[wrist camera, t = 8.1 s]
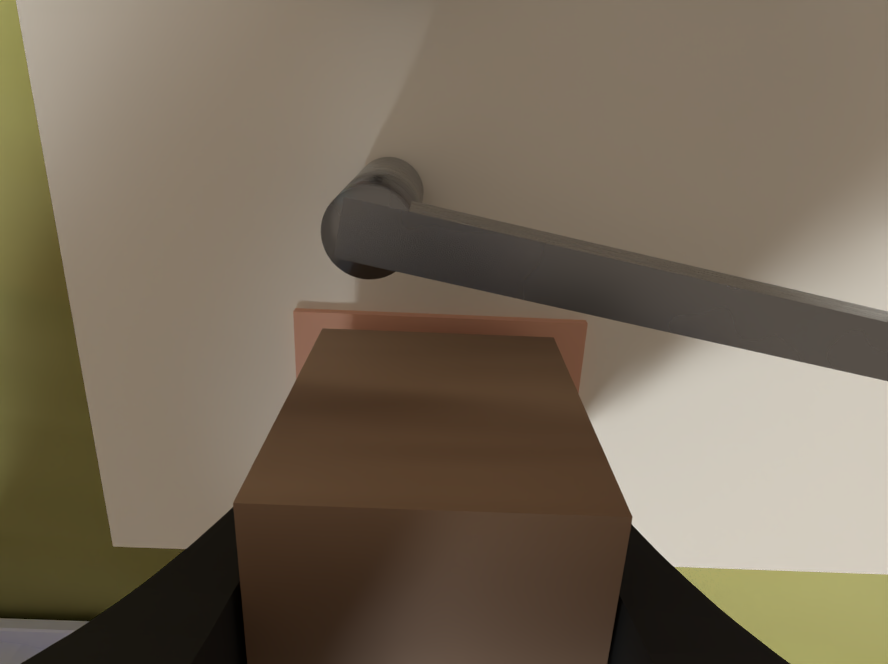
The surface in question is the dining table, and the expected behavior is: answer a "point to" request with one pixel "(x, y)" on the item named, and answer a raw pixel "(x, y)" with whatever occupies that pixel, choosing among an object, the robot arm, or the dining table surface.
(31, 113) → the dining table surface
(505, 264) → the bent wire
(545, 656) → the walnut block
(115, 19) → the board
